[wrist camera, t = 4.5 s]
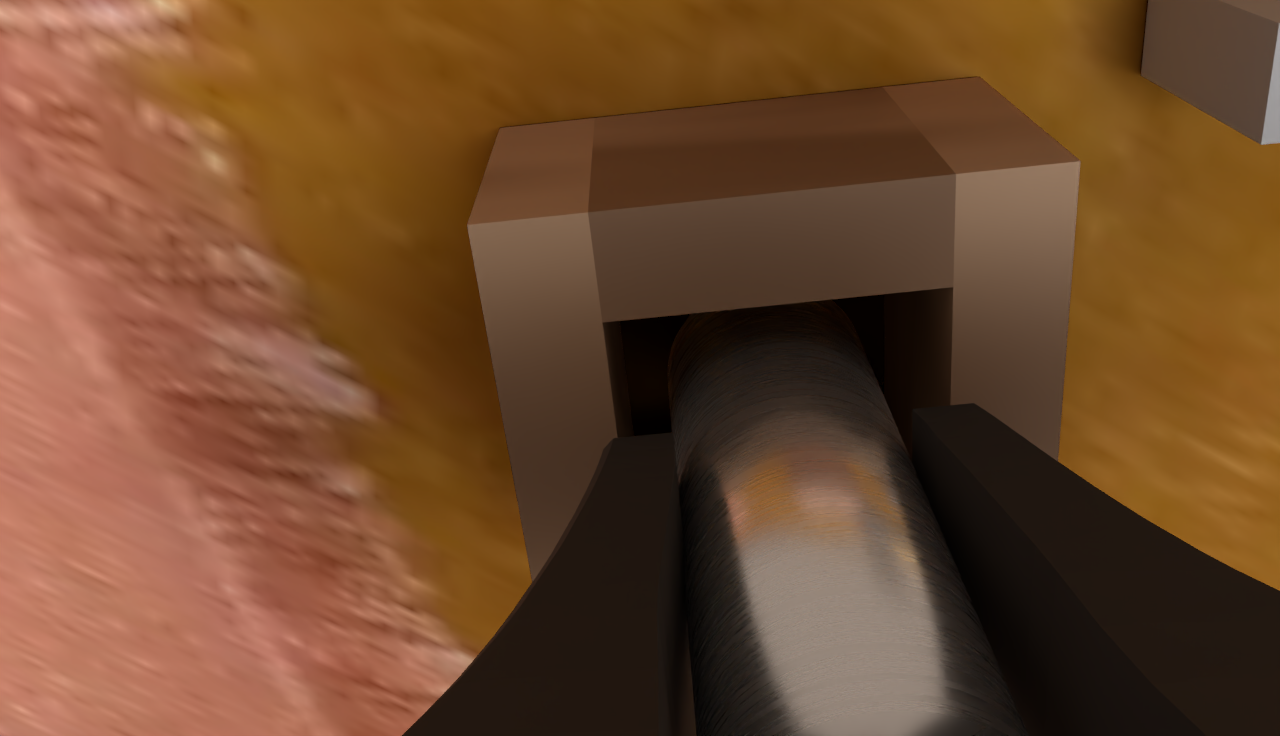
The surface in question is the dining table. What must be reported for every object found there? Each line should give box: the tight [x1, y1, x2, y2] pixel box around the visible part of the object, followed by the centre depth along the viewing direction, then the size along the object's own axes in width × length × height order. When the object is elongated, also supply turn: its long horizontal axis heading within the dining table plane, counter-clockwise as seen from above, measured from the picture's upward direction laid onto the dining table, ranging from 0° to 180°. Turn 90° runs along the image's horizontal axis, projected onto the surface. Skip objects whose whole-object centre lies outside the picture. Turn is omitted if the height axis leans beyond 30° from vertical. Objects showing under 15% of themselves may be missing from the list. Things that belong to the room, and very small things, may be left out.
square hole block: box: [467, 77, 1081, 582], centre depth 14 cm, size 6×6×4 cm
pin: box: [667, 300, 1029, 736], centre depth 11 cm, size 2×2×7 cm
